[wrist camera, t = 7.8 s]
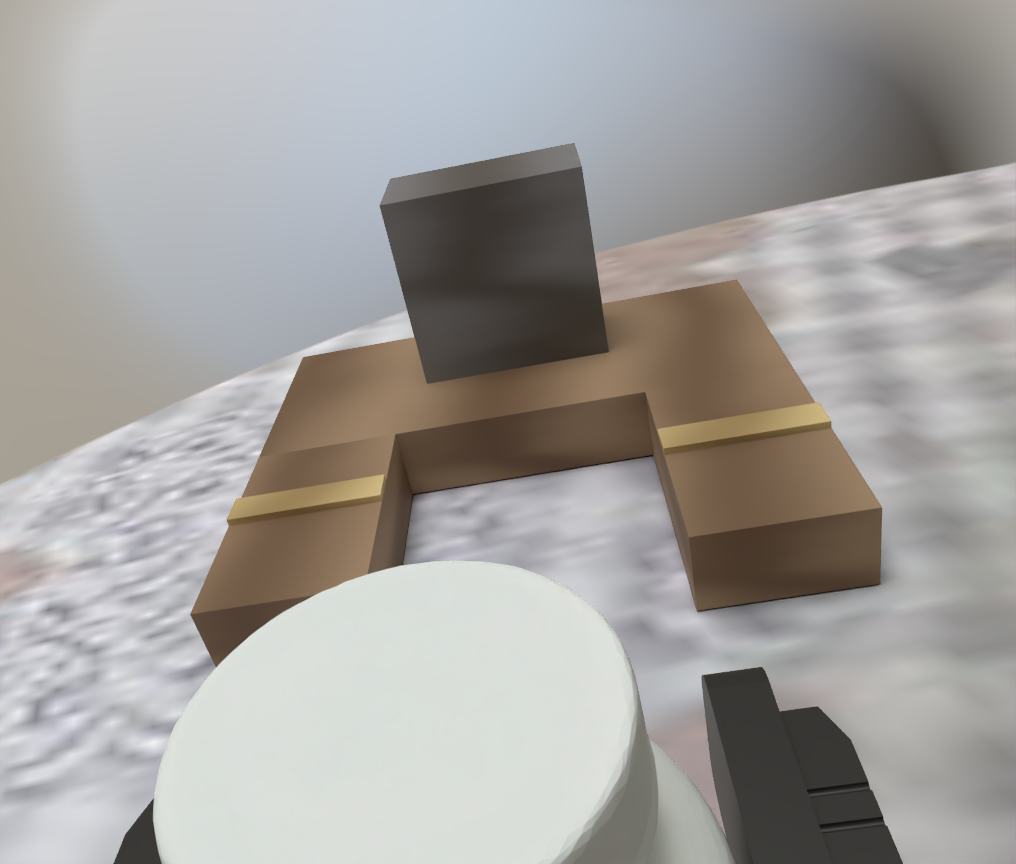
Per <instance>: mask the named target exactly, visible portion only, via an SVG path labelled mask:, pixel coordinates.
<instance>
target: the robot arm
mask: <svg viewBox="0 0 1016 864" xmlns="http://www.w3.org/2000/svg"><path fill="white" fill-rule="evenodd" d="M702 689H703V698H704V707H705V716H706V725H707V733H708V742H709V751H710V760H711V766H712V773H713V778H714V784H715V789H716V794H717V799H718V803H719V808H720V812H721V816H722V820H723V825H724V829H725V833H726V837H727V841H728V843H729V846H730V848H731V851H732V853H733V856H734V858H735V861H736V864H903V862H902V860H901V858H900V855H899V853H898V851H897V848H896V846H895V843H894V841H893V839H892V836H891V834H890V832H889V829H888V827H887V826H886V825H885V823H884V820H883V815H882V813H881V810H880V808H879V806H878V803H877V801H876V798H875V796H874V794H873V791H872V790H870V787H869V783H868V779H867V777H866V775H865V772H864V770H863V768H862V765H861V763H860V760H859V758H858V756H857V753H856V751H855V749H854V746H853V744H852V742H851V740H850V739H849V738H848V737H847V736H846V735H845V734H844V733H843V732H842V730H841V729H840V728H839V727H838V726H837V725H836V724H835V723H834V722H833V721H832V720H831V719H830V718H829V717H828V716H827V715H826V714H825V713H824V712H823V711H822V710H821V709H820V708H819V707H818V706H817V707H810V708H803V709H795V710H788V711H781V712H779V709H778V706H777V703H776V700H775V697H774V694H773V691H772V689H771V686H770V683H769V680H768V677H767V675H766V673H765V671H764V669H763V668H762V667H758V668H751V669H744V670H737V671H730V672H722V673H715V674H708V675H702ZM153 806H154V799H153V800H152V801H151V802H150V804H149V805H148V806H147V808H146V809H145V810H144V811H143V813H142V814H141V815H140V816H139V818H138V819H137V820H136V822H135V823H134V824H133V825H132V827H131V828H130V829H129V830H128V832H127V833H126V834H125V837H124V839H123V842H122V844H121V847H120V849H119V852H118V854H117V857H116V859H115V862H114V864H162V863H161V859H160V856H159V852H158V847H157V842H156V836H155V830H154V824H153Z"/></svg>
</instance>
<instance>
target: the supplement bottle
mask: <svg viewBox="0 0 1016 864" xmlns="http://www.w3.org/2000/svg"><path fill="white" fill-rule="evenodd" d="M153 824H154V830H155V836H156V842H157V847H158V852H159V856H160V859H161V863H162V864H736V861H735V858H734V856H733V853H732V851H731V848H730V846H729V843H728V841H727V838H726V836H725V834H724V833H723V831H722V829H721V827H720V825H719V823H718V821H717V819H716V817H715V815H714V814H713V812H712V810H711V808H710V807H709V805H708V804H707V802H706V801H705V799H704V798H703V796H702V795H701V793H700V792H699V790H698V789H697V787H696V786H695V785H694V783H693V782H692V781H691V780H690V779H689V777H688V776H687V775H686V774H685V773H684V771H683V770H682V769H681V768H680V767H679V766H678V765H677V764H676V763H675V762H674V761H673V760H672V759H671V757H670V756H669V755H668V754H666V753H665V752H664V751H663V750H662V749H661V748H659V747H658V746H657V745H656V744H655V743H654V742H652V741H651V740H650V739H649V737H648V734H647V732H646V726H645V721H644V716H643V711H642V706H641V701H640V697H639V692H638V687H637V682H636V678H635V674H634V671H633V668H632V665H631V662H630V659H629V657H628V655H627V653H626V651H625V649H624V647H623V645H622V643H621V641H620V640H619V638H618V636H617V635H616V633H615V631H614V630H613V629H612V627H611V626H610V624H609V623H608V622H607V620H606V619H605V618H604V617H603V616H602V615H601V614H600V613H599V612H598V611H597V610H596V609H595V608H594V607H593V606H591V605H590V604H589V603H588V602H587V601H585V600H584V599H583V598H582V597H581V596H579V595H578V594H576V593H575V592H573V591H572V590H570V589H569V588H567V587H566V586H564V585H562V584H560V583H558V582H555V581H553V580H551V579H549V578H546V577H544V576H541V575H539V574H536V573H534V572H531V571H528V570H525V569H522V568H519V567H515V566H511V565H504V564H498V563H488V562H481V561H458V560H450V561H433V562H426V563H418V564H409V565H402V566H397V567H393V568H389V569H385V570H381V571H377V572H374V573H370V574H367V575H364V576H361V577H358V578H355V579H352V580H349V581H346V582H343V583H342V584H340V585H338V586H336V587H333V588H330V589H328V590H325V591H322V592H320V593H318V594H316V595H314V596H312V597H310V598H309V599H307V600H305V601H303V602H301V603H299V604H297V605H295V606H293V607H291V608H290V609H288V610H286V611H284V612H283V613H281V614H279V615H278V616H276V617H275V618H273V619H272V620H270V621H269V622H268V623H266V624H265V625H264V626H262V627H261V628H260V629H258V630H257V631H256V632H254V633H253V634H252V635H250V636H249V637H248V638H247V639H246V640H245V641H244V642H242V643H241V644H240V645H239V646H238V647H237V648H236V649H234V650H233V651H232V652H231V653H230V654H229V655H228V656H227V657H226V658H225V659H224V660H223V661H222V662H221V663H220V664H219V665H218V666H217V667H216V668H215V669H214V671H213V672H212V673H211V674H210V675H209V676H208V677H207V678H206V679H205V681H204V682H203V684H202V685H201V686H200V688H199V689H198V691H197V692H196V693H195V695H194V696H193V697H192V699H191V700H190V701H189V703H188V704H187V706H186V708H185V709H184V711H183V713H182V714H181V716H180V718H179V719H178V721H177V723H176V724H175V726H174V729H173V731H172V733H171V736H170V738H169V740H168V743H167V745H166V747H165V750H164V753H163V756H162V760H161V763H160V767H159V770H158V773H157V782H156V786H155V791H154V806H153Z"/></svg>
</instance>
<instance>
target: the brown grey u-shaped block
mask: <svg viewBox="0 0 1016 864" xmlns="http://www.w3.org/2000/svg"><path fill="white" fill-rule="evenodd" d="M380 209H381V212H382V216H383V219H384V224H385V227H386V231H387V235H388V239H389V242H390V246H391V250H392V254H393V257H394V261H395V265H396V269H397V273H398V276H399V280H400V284H401V287H402V292H403V295H404V299H405V303H406V307H407V310H408V314H409V318H410V322H411V326H412V329H413V333H414V338H408V339H403V340H397V341H392V342H386V343H381V344H375V345H369V346H364V347H358V348H353V349H347V350H341V351H336V352H330V353H325V354H319V355H313V356H308V357H303V359H302V361H301V363H300V366H299V368H298V370H297V372H296V375H295V377H294V379H293V382H292V384H291V386H290V388H289V391H288V393H287V395H286V398H285V400H284V402H283V404H282V407H281V409H280V411H279V413H278V416H277V418H276V420H275V423H274V425H273V427H272V429H271V432H270V434H269V436H268V439H267V441H266V443H265V445H264V448H263V450H262V452H261V454H260V457H259V459H258V461H257V464H256V466H255V468H254V470H253V473H252V475H251V477H250V480H249V482H248V484H247V486H246V489H245V491H244V493H243V495H242V498H238V499H236V500H235V502H234V505H233V507H232V509H231V511H230V514H229V516H228V518H227V522H228V524H229V527H228V530H227V532H226V534H225V536H224V539H223V541H222V543H221V546H220V548H219V550H218V552H217V555H216V557H215V559H214V562H213V564H212V566H211V568H210V571H209V573H208V575H207V577H206V580H205V582H204V584H203V587H202V589H201V591H200V593H199V596H198V598H197V600H196V603H195V605H194V607H193V609H192V612H191V614H190V615H191V617H192V619H193V621H194V623H195V625H196V627H197V629H198V631H199V633H200V635H201V637H202V639H203V641H204V643H205V645H206V648H207V650H208V652H209V654H210V656H211V658H212V660H213V662H214V664H215V666H216V667H217V666H218V665H219V664H220V663H221V662H222V661H223V660H224V659H225V658H226V657H227V656H228V655H229V654H230V653H231V652H232V651H233V650H234V649H236V648H237V647H238V646H239V645H240V644H241V643H242V642H244V641H245V640H246V639H247V638H248V637H249V636H250V635H252V634H253V633H254V632H256V631H257V630H258V629H260V628H261V627H262V626H264V625H265V624H266V623H268V622H269V621H270V620H272V619H273V618H275V617H276V616H278V615H279V614H281V613H283V612H284V611H286V610H288V609H290V608H291V607H293V606H295V605H297V604H299V603H301V602H303V601H305V600H307V599H309V598H310V597H312V596H314V595H316V594H318V593H320V592H322V591H325V590H328V589H330V588H333V587H336V586H338V585H340V584H342V583H343V582H346V581H349V580H352V579H355V578H358V577H361V576H364V575H367V574H370V573H374V572H377V571H381V570H385V569H389V568H393V567H397V566H402V565H403V558H404V551H405V545H406V538H407V531H408V525H409V518H410V511H411V504H412V498H413V494H416V493H422V492H428V491H434V490H441V489H447V488H453V487H459V486H465V485H471V484H477V483H483V482H490V481H496V480H502V479H508V478H514V477H520V476H526V475H532V474H539V473H545V472H551V471H557V470H563V469H569V468H575V467H581V466H588V465H594V464H600V463H606V462H612V461H618V460H624V459H631V458H637V457H643V456H649V455H653V456H654V459H655V463H656V466H657V470H658V474H659V477H660V481H661V484H662V488H663V491H664V495H665V499H666V502H667V506H668V509H669V513H670V516H671V520H672V524H673V527H674V531H675V534H676V538H677V541H678V545H679V549H680V552H681V556H682V559H683V563H684V566H685V570H686V574H687V577H688V581H689V584H690V588H691V591H692V595H693V599H694V602H695V606H696V609H697V611H698V610H705V609H712V608H719V607H725V606H732V605H739V604H746V603H753V602H759V601H766V600H773V599H780V598H787V597H793V596H800V595H807V594H814V593H821V592H827V591H834V590H841V589H848V588H855V587H861V586H868V585H875V584H880V566H881V528H882V507H881V505H880V503H879V502H878V500H877V499H876V497H875V496H874V494H873V493H872V491H871V489H870V488H869V486H868V485H867V483H866V482H865V480H864V478H863V477H862V475H861V474H860V472H859V471H858V469H857V467H856V466H855V464H854V463H853V461H852V460H851V458H850V456H849V455H848V453H847V452H846V450H845V449H844V447H843V445H842V444H841V442H840V441H839V439H838V438H837V436H836V434H835V433H834V431H833V430H832V428H831V420H830V418H829V417H828V415H827V414H826V412H825V411H824V409H823V408H822V406H821V404H820V403H819V402H818V403H815V401H814V400H813V398H812V397H811V395H810V394H809V392H808V391H807V389H806V387H805V386H804V384H803V383H802V381H801V380H800V378H799V376H798V375H797V373H796V372H795V370H794V369H793V367H792V365H791V364H790V362H789V361H788V359H787V358H786V356H785V354H784V353H783V351H782V350H781V348H780V347H779V345H778V343H777V342H776V340H775V339H774V337H773V336H772V334H771V332H770V331H769V329H768V328H767V326H766V325H765V323H764V321H763V320H762V318H761V317H760V315H759V314H758V312H757V310H756V309H755V307H754V306H753V304H752V303H751V301H750V299H749V298H748V296H747V295H746V293H745V292H744V290H743V289H742V287H741V285H740V284H739V282H738V281H737V280H733V281H727V282H721V283H716V284H710V285H705V286H699V287H694V288H688V289H682V290H677V291H671V292H666V293H660V294H654V295H649V296H643V297H638V298H632V299H626V300H621V301H615V302H610V303H604V304H602V302H601V295H600V288H599V281H598V274H597V267H596V261H595V254H594V247H593V241H592V233H591V226H590V220H589V213H588V206H587V199H586V192H585V186H584V179H583V172H582V166H581V163H580V159H579V156H578V153H577V150H576V147H575V144H574V143H572V144H566V145H561V146H556V147H551V148H546V149H542V150H536V151H531V152H526V153H520V154H516V155H510V156H505V157H500V158H495V159H490V160H485V161H479V162H474V163H469V164H464V165H459V166H455V167H449V168H444V169H439V170H433V171H428V172H424V173H418V174H414V175H408V176H403V177H398V178H392V179H390V181H389V184H388V186H387V189H386V192H385V194H384V196H383V199H382V201H381V204H380Z"/></svg>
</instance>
